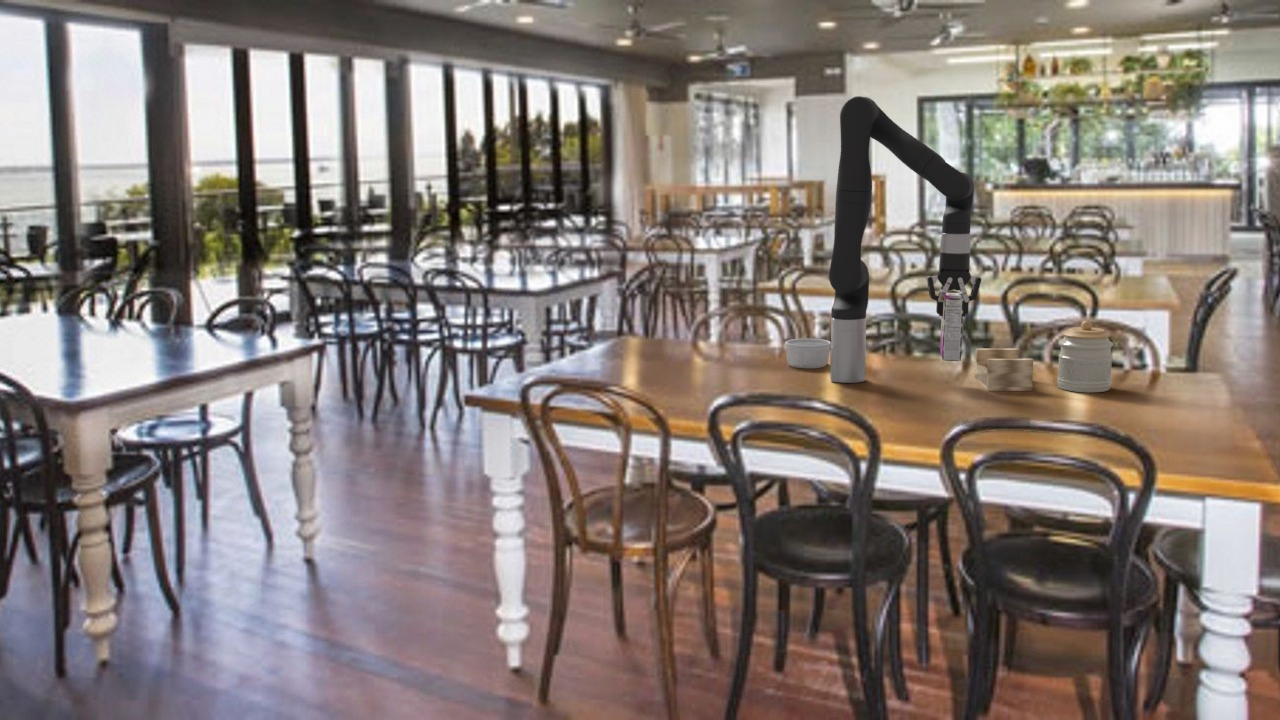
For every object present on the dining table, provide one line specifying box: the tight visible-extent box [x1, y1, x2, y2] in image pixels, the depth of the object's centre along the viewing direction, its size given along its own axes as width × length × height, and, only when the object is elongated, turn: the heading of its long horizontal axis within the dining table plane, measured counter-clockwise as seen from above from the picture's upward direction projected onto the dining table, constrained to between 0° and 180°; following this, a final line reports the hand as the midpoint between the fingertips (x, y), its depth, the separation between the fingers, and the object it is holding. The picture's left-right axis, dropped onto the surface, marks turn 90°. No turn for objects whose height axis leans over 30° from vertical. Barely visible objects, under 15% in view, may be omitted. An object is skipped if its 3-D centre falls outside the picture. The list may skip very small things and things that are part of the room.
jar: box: [1056, 320, 1114, 393], centre depth 293 cm, size 13×13×18 cm
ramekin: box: [784, 338, 831, 369], centre depth 335 cm, size 13×13×7 cm
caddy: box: [974, 347, 1034, 392], centre depth 302 cm, size 11×18×8 cm, turn 174°
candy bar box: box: [939, 292, 964, 362], centre depth 298 cm, size 11×5×16 cm, turn 169°
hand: (951, 315), depth 298 cm, fingers closed on candy bar box, 5 cm apart
